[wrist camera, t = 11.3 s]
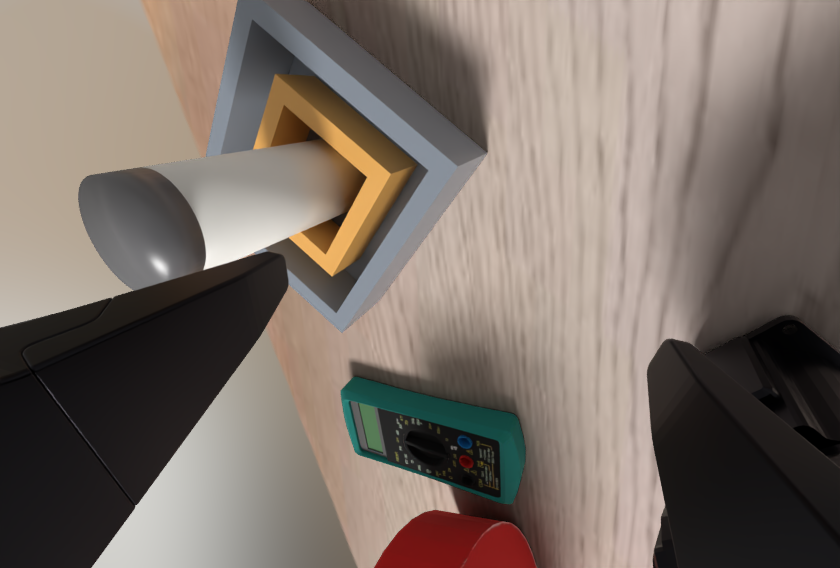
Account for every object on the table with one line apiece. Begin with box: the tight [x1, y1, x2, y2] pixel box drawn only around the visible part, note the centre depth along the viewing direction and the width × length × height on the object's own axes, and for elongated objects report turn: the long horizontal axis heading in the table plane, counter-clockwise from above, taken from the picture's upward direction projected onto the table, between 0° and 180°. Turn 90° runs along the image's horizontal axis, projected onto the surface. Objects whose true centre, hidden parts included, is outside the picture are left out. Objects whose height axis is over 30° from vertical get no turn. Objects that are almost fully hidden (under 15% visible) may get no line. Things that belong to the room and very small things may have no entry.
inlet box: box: [206, 0, 487, 333], centre depth 22 cm, size 13×13×4 cm
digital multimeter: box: [341, 377, 526, 504], centre depth 30 cm, size 7×15×3 cm, turn 96°
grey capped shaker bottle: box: [78, 139, 367, 291], centre depth 18 cm, size 4×4×12 cm
